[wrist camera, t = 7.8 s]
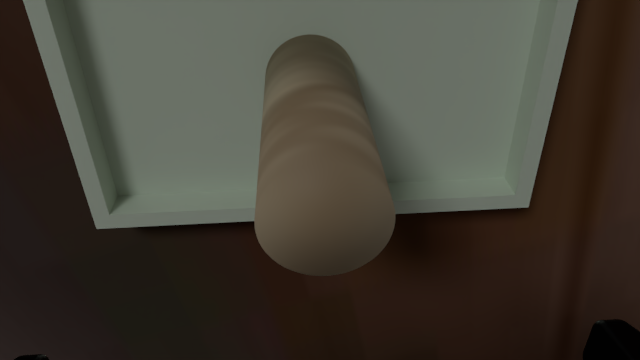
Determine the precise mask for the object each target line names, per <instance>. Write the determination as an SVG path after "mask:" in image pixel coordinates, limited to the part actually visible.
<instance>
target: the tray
mask: <svg viewBox="0 0 640 360" xmlns="http://www.w3.org/2000/svg"><path fill="white" fill-rule="evenodd" d="M23 2H24V5H25V8H26V11H27V14H28V17H29V20H30V24H31V27H32V30H33V33H34V36H35V39H36V42H37V45H38V48H39V52H40V55H41V58H42V61H43V64H44V67H45V70H46V73H47V76H48V80H49V83H50V86H51V89H52V92H53V95H54V98H55V101H56V104H57V108H58V111H59V114H60V117H61V120H62V123H63V126H64V129H65V132H66V136H67V139H68V142H69V145H70V148H71V151H72V154H73V157H74V160H75V164H76V167H77V170H78V173H79V176H80V179H81V182H82V185H83V188H84V192H85V195H86V198H87V201H88V204H89V207H90V210H91V213H92V216H93V219H94V223H95V226H96V229H104V228H125V227H145V226H165V225H185V224H205V223H225V222H245V221H254V219H255V206H256V193H257V180H258V167H259V154H260V141H261V128H262V114H263V101H264V88H265V75H266V68H267V65H268V62H269V60H270V58H271V56H272V54H273V53H274V52H275V50H276V49H277V48H278V47H279V46H280V45H282V44H283V43H284V42H286V41H288V40H289V39H291V38H294V37H297V36H301V35H308V34H311V35H321V36H324V37H327V38H330V39H332V40H333V41H335V42H337V43H338V44H339V45H341V46H342V47H343V48H344V49H345V51H346V52H347V53H348V55H349V57H350V59H351V61H352V63H353V67H354V70H355V73H356V77H357V80H358V84H359V87H360V91H361V94H362V97H363V101H364V104H365V108H366V111H367V114H368V118H369V121H370V125H371V128H372V132H373V135H374V138H375V142H376V145H377V149H378V152H379V156H380V159H381V162H382V166H383V169H384V173H385V176H386V180H387V183H388V186H389V190H390V193H391V197H392V200H393V203H394V208H395V214H406V213H426V212H446V211H466V210H486V209H506V208H526V207H529V203H530V198H531V194H532V190H533V186H534V182H535V177H536V173H537V169H538V165H539V161H540V157H541V152H542V148H543V144H544V140H545V136H546V131H547V127H548V123H549V119H550V115H551V111H552V106H553V102H554V98H555V94H556V90H557V85H558V81H559V77H560V73H561V69H562V65H563V60H564V56H565V52H566V48H567V44H568V40H569V35H570V31H571V27H572V23H573V19H574V14H575V10H576V6H577V2H578V0H23Z"/></svg>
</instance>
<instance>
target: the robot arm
mask: <svg viewBox="0 0 640 360" xmlns="http://www.w3.org/2000/svg"><path fill="white" fill-rule="evenodd" d="M14 360H49V359H48V357H46V356H45V355H42V354H38V355H23V356H19V357H17V358H16V359H14ZM583 360H640V332H639V331H638V330H637V329H635V328H634V327H632V326H631V325H630V324H628V323H627V322H625V321H623V320H619V319H613V320H599V321H597V322H596V323H594V325H593V327H592V330H591V332H590V335H589V338H588V340H587V343H586V346H585V348H584V351H583Z"/></svg>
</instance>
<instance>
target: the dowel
mask: <svg viewBox="0 0 640 360" xmlns="http://www.w3.org/2000/svg"><path fill="white" fill-rule="evenodd" d="M254 221H255V231H256V235H257V238H258V241H259V243H260V245H261V246H262V248H263V249H264V251H265V252H266V253H267V254H268V255H269V256H270V257H271V258H272V259H273V260H274V261H276V262H277V263H278V264H280V265H282V266H283V267H285V268H287V269H290V270H292V271H295V272H298V273H302V274H307V275H314V276H329V275H337V274H342V273H346V272H349V271H352V270H354V269H357V268H359V267H361V266H363V265H365V264H366V263H368V262H369V261H371V260H372V259H374V258H375V257H376V256H377V255H378V254H379V253H380V252H381V251H382V250H383V249H384V247H385V246H386V245H387V243H388V242H389V240H390V238H391V236H392V233H393V230H394V226H395V208H394V203H393V200H392V197H391V193H390V190H389V186H388V183H387V180H386V176H385V173H384V169H383V166H382V162H381V159H380V156H379V152H378V149H377V145H376V142H375V138H374V135H373V132H372V128H371V125H370V121H369V118H368V114H367V111H366V108H365V104H364V101H363V97H362V94H361V91H360V87H359V84H358V80H357V77H356V73H355V70H354V67H353V63H352V61H351V59H350V57H349V55H348V53H347V52H346V51H345V49H344V48H343V47H342V46H341V45H339V44H338V43H337V42H335V41H333V40H332V39H330V38H327V37H324V36H321V35H311V34H308V35H301V36H297V37H294V38H291V39H289V40H288V41H286V42H284V43H283V44H282V45H280V46H279V47H278V48H277V49H276V50H275V52H274V53H273V54H272V56H271V58H270V60H269V62H268V65H267V68H266V75H265V88H264V101H263V114H262V128H261V141H260V154H259V167H258V180H257V193H256V206H255V219H254Z"/></svg>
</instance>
